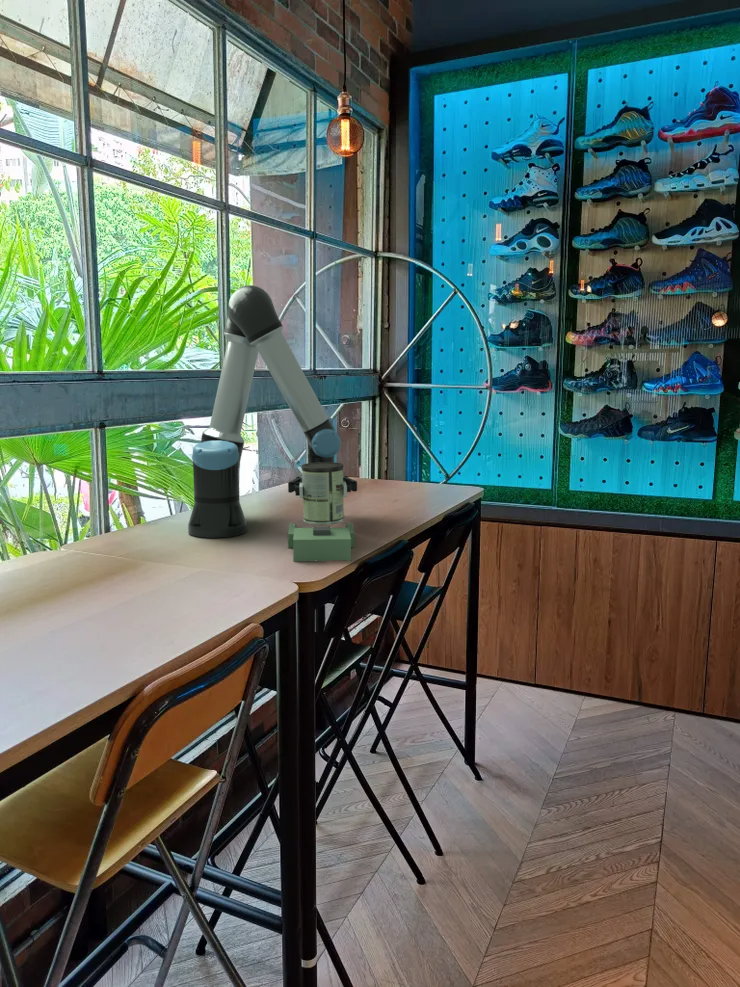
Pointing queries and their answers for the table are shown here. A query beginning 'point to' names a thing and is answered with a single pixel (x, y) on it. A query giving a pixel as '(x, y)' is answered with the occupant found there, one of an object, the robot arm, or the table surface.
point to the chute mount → (321, 543)
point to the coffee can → (322, 493)
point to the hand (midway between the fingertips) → (323, 492)
